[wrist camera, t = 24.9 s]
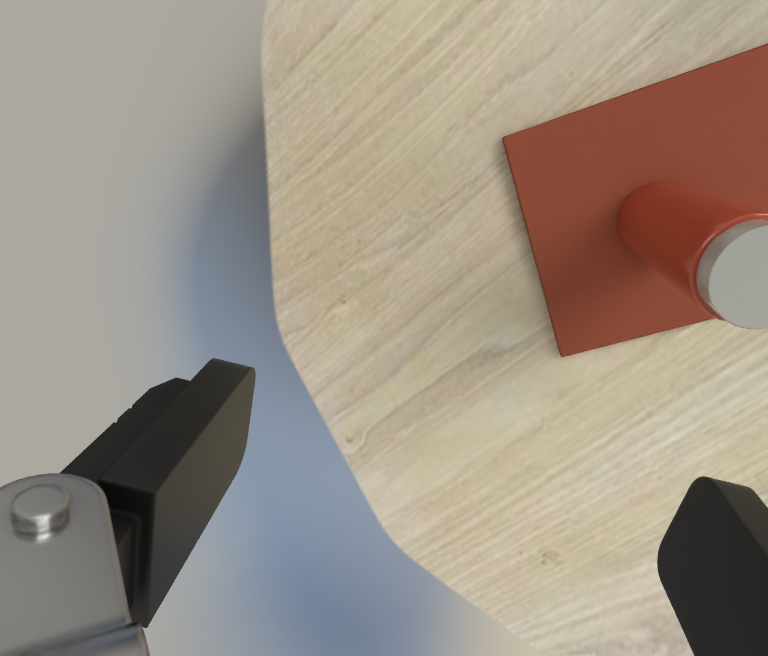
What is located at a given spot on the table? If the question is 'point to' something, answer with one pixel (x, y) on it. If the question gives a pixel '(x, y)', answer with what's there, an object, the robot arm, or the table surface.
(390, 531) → the table surface
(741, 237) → the terracotta shaker
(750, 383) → the table surface
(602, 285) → the terracotta mat
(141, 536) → the robot arm
